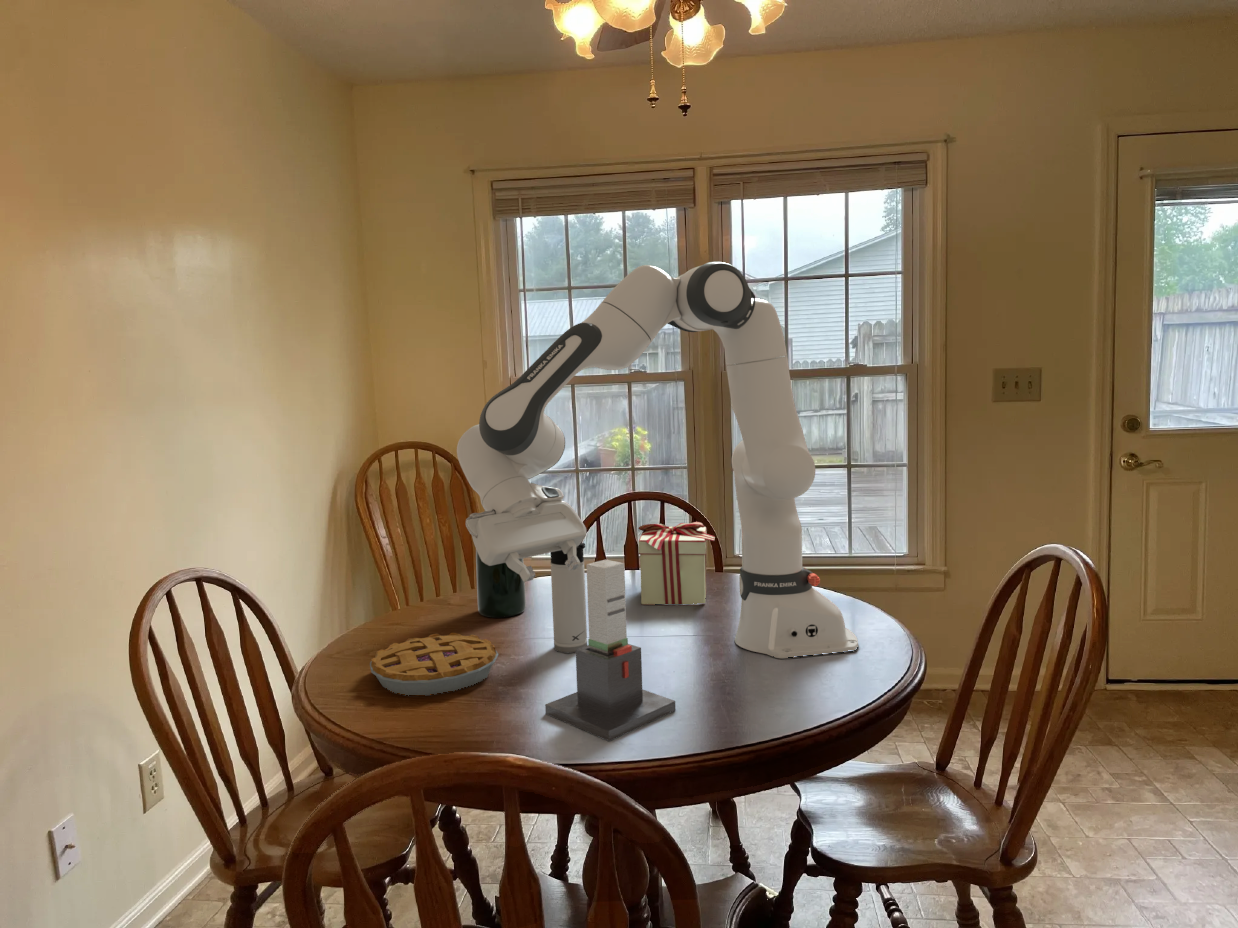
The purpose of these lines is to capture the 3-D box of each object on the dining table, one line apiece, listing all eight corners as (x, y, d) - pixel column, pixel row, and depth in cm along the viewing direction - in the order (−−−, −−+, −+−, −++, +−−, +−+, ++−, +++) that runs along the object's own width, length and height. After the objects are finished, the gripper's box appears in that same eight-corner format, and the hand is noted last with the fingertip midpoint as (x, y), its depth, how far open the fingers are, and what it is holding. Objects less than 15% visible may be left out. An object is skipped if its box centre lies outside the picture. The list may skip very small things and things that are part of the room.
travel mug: (584, 653, 150) (580, 547, 148) (550, 652, 151) (545, 547, 149) (592, 642, 156) (588, 540, 154) (559, 641, 157) (555, 540, 155)
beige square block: (609, 669, 126) (605, 559, 124) (629, 675, 123) (625, 563, 121) (589, 676, 123) (585, 564, 121) (609, 683, 120) (605, 568, 118)
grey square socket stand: (611, 687, 134) (609, 623, 132) (675, 710, 124) (673, 641, 122) (545, 713, 124) (542, 645, 123) (609, 741, 114) (606, 666, 113)
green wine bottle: (525, 603, 185) (518, 459, 181) (527, 616, 174) (520, 464, 171) (478, 607, 183) (470, 461, 179) (478, 620, 173) (469, 466, 169)
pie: (357, 670, 146) (355, 643, 145) (473, 646, 157) (471, 621, 156) (389, 711, 127) (387, 680, 127) (518, 681, 138) (517, 652, 138)
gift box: (640, 610, 176) (637, 532, 174) (640, 588, 195) (638, 517, 193) (718, 609, 176) (717, 530, 174) (712, 586, 194) (710, 515, 192)
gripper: (468, 503, 127) (508, 574, 121) (567, 487, 141) (608, 550, 135) (454, 528, 131) (492, 597, 125) (552, 510, 145) (590, 572, 139)
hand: (553, 573), depth 130 cm, fingers open, 8 cm apart
